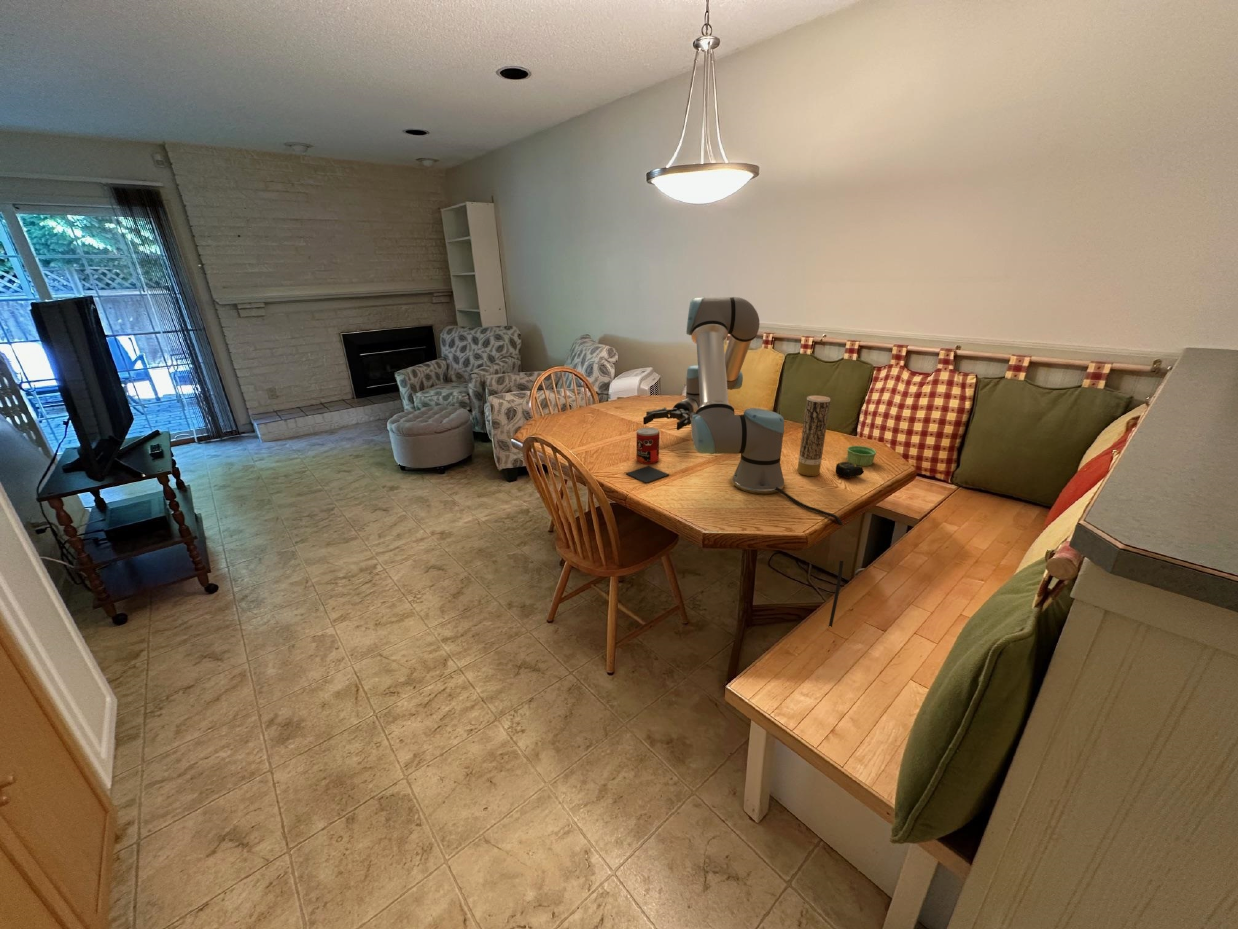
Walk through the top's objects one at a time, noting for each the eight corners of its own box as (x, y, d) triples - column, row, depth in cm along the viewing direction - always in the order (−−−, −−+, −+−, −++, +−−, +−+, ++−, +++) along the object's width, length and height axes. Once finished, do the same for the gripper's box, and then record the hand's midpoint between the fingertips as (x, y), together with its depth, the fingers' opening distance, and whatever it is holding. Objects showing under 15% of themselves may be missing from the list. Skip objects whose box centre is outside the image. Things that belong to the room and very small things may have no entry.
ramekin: (850, 466, 161) (852, 454, 159) (841, 457, 169) (843, 445, 168) (878, 467, 160) (880, 454, 158) (868, 457, 168) (870, 445, 167)
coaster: (669, 475, 156) (669, 474, 156) (646, 483, 150) (646, 482, 150) (648, 466, 163) (648, 465, 163) (626, 474, 158) (626, 473, 158)
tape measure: (846, 481, 149) (848, 470, 148) (830, 473, 155) (831, 463, 154) (862, 478, 152) (865, 467, 150) (846, 470, 158) (848, 459, 156)
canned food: (632, 460, 170) (631, 430, 166) (648, 454, 175) (648, 425, 170) (646, 465, 164) (647, 435, 160) (663, 460, 169) (663, 430, 165)
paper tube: (815, 469, 159) (826, 395, 150) (821, 477, 153) (833, 400, 144) (794, 468, 160) (804, 395, 151) (800, 476, 153) (810, 400, 144)
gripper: (714, 423, 185) (692, 438, 168) (656, 414, 197) (631, 428, 181) (715, 404, 182) (693, 418, 166) (657, 397, 195) (630, 409, 178)
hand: (660, 423), depth 173 cm, fingers open, 13 cm apart
